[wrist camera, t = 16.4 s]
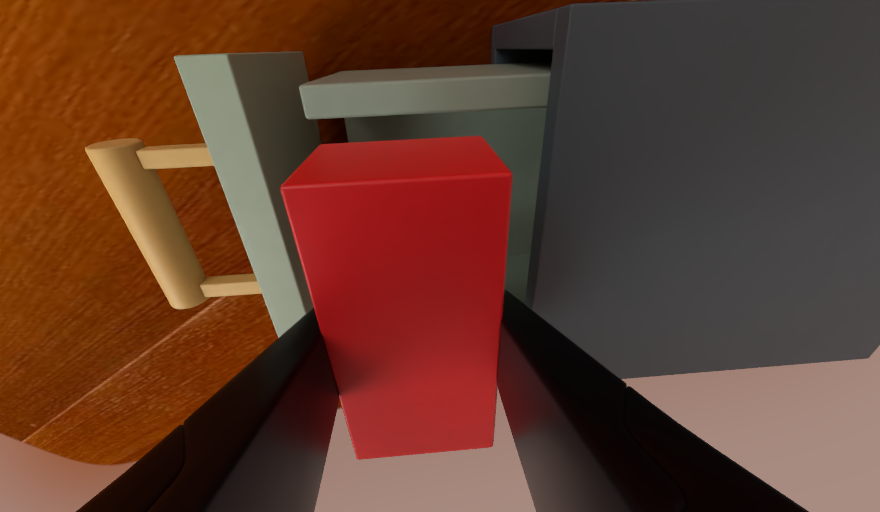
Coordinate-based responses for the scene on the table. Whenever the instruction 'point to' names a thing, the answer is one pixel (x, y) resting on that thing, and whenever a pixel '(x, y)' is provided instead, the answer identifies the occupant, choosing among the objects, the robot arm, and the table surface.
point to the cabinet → (707, 181)
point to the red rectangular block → (407, 285)
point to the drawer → (295, 138)
